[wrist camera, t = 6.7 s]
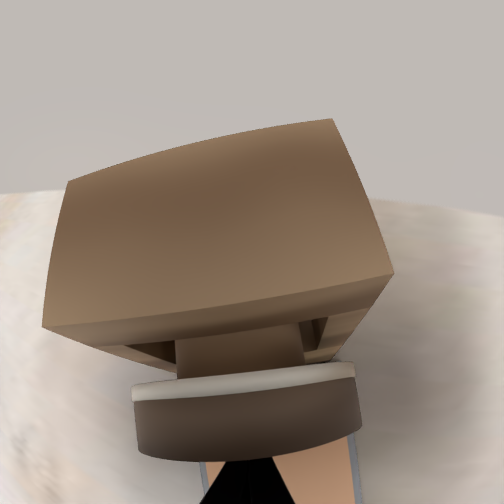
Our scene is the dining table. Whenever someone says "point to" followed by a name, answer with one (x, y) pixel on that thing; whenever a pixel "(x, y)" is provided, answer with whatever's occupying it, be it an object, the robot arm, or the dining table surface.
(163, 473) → the dining table surface
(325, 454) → the board
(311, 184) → the block
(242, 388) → the peg
